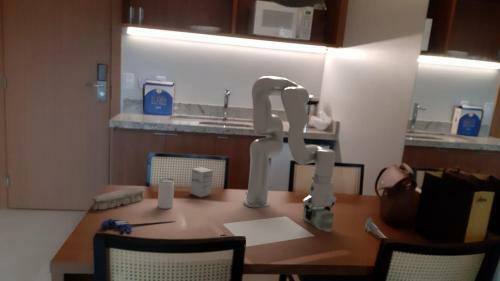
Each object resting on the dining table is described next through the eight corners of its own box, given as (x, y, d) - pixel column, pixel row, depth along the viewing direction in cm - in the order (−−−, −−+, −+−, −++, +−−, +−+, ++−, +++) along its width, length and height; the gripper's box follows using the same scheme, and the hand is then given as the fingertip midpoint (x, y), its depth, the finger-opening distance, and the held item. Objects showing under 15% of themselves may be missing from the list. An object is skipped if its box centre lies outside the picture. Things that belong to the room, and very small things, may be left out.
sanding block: (302, 222, 162) (304, 204, 160) (313, 220, 165) (315, 203, 163) (319, 233, 152) (322, 215, 150) (331, 232, 155) (333, 213, 153)
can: (154, 207, 161) (156, 180, 159) (161, 202, 168) (163, 177, 165) (168, 210, 160) (170, 183, 158) (175, 205, 166) (176, 179, 164)
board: (222, 227, 148) (222, 223, 148) (285, 219, 163) (285, 216, 162) (245, 250, 131) (246, 246, 131) (313, 239, 145) (314, 235, 145)
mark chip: (219, 236, 141) (219, 235, 141) (228, 235, 143) (228, 233, 143) (223, 240, 138) (223, 239, 138) (231, 239, 140) (232, 237, 140)
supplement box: (189, 193, 183) (191, 168, 181) (200, 190, 189) (202, 166, 187) (200, 197, 179) (202, 172, 177) (211, 194, 185) (213, 169, 183)
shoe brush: (98, 212, 151) (98, 200, 150) (88, 207, 155) (88, 195, 154) (147, 200, 170) (147, 189, 169) (137, 195, 174) (137, 185, 173)
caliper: (364, 230, 161) (366, 216, 159) (366, 229, 161) (368, 216, 160) (395, 252, 142) (398, 237, 140) (398, 252, 142) (401, 237, 141)
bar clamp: (103, 230, 130) (99, 219, 139) (103, 237, 131) (99, 225, 139) (191, 223, 146) (183, 214, 155) (191, 229, 147) (182, 219, 155)
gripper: (311, 182, 147) (306, 223, 150) (344, 180, 156) (338, 219, 159) (300, 177, 154) (295, 216, 157) (332, 175, 162) (327, 212, 165)
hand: (317, 217), depth 158 cm, fingers open, 9 cm apart
